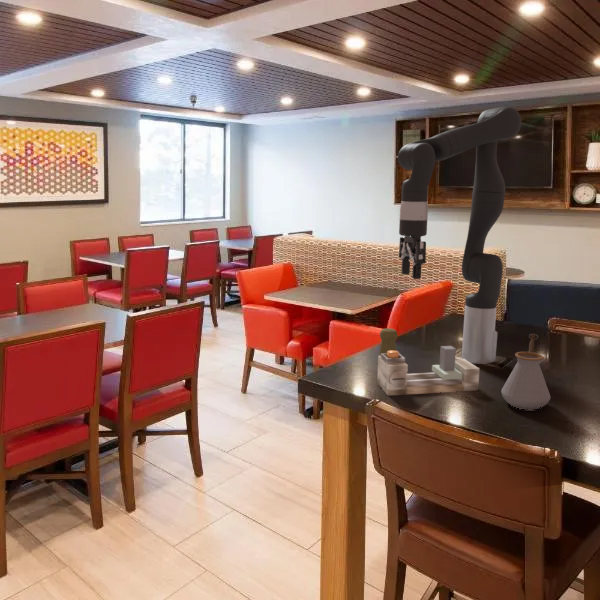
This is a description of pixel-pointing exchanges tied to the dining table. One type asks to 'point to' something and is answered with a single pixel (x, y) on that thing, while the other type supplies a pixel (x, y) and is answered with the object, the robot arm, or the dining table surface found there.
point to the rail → (423, 378)
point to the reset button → (392, 354)
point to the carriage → (447, 364)
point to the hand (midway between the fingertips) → (410, 276)
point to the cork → (387, 340)
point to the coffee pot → (527, 381)
